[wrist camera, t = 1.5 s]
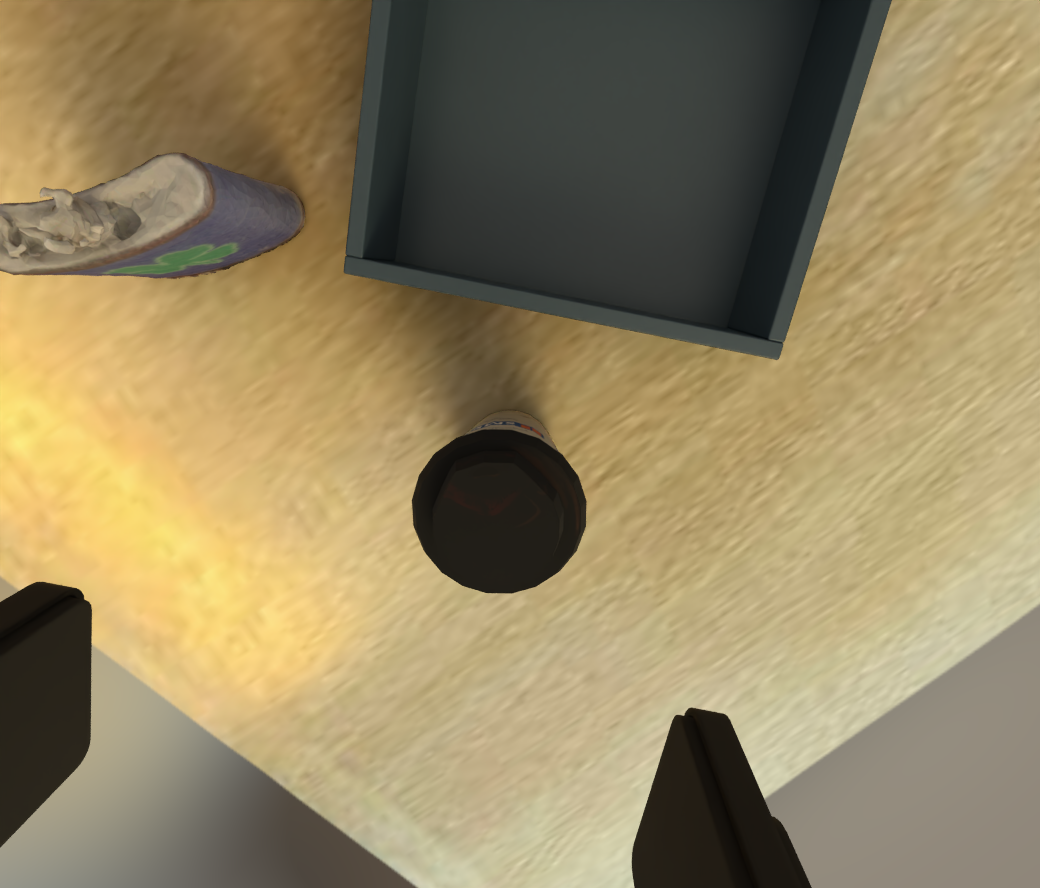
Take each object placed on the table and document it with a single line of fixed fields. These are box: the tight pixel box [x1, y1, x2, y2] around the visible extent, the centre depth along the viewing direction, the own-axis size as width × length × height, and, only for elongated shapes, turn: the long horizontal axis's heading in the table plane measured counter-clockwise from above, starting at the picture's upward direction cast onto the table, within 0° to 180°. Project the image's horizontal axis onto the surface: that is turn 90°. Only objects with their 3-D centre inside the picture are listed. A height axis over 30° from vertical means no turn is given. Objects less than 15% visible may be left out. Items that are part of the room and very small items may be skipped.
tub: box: [344, 0, 892, 360], centre depth 25 cm, size 16×18×6 cm
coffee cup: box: [412, 411, 586, 593], centre depth 27 cm, size 7×7×10 cm
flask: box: [0, 153, 305, 279], centre depth 24 cm, size 9×3×11 cm, turn 105°
